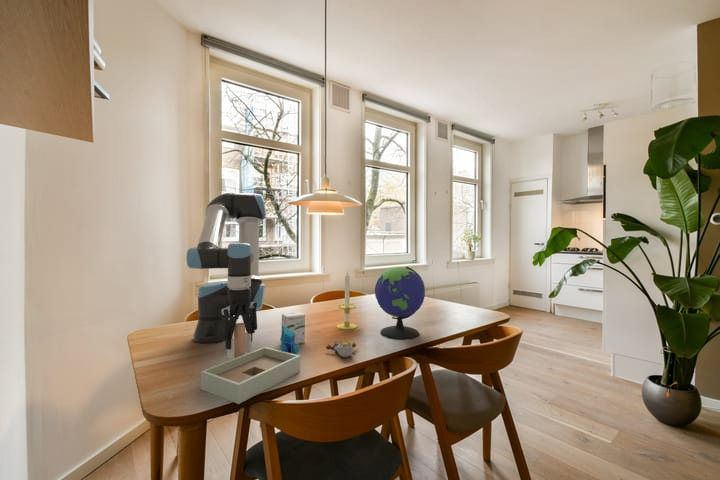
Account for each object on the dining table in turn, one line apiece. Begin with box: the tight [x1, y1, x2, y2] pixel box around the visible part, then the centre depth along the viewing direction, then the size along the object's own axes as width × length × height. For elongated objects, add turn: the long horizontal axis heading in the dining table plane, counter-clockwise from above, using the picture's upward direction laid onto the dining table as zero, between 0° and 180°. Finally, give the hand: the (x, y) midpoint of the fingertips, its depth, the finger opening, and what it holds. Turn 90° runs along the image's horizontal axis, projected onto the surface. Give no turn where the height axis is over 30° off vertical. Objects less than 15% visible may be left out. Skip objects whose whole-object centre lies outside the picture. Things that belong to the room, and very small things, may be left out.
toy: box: [325, 339, 357, 358], centre depth 122 cm, size 12×5×15 cm
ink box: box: [280, 311, 306, 345], centre depth 133 cm, size 9×5×12 cm, turn 123°
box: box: [200, 346, 301, 405], centre depth 99 cm, size 16×24×5 cm, turn 150°
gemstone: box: [280, 325, 300, 355], centre depth 115 cm, size 7×9×12 cm
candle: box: [336, 271, 358, 331], centre depth 156 cm, size 10×10×27 cm
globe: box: [374, 266, 426, 341], centre depth 146 cm, size 22×22×30 cm
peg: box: [233, 322, 246, 359], centre depth 112 cm, size 4×4×13 cm
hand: (239, 354), depth 112 cm, fingers open, 6 cm apart
